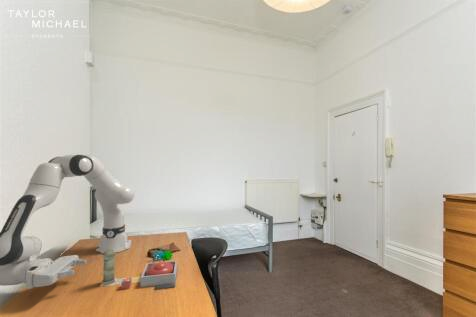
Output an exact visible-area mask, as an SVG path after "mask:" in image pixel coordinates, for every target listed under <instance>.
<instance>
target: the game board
mask: <svg viewBox="0 0 476 317" xmlns="http://www.w3.org/2000/svg"><path fill="white" fill-rule="evenodd" d="M159 262H160V261H159ZM159 262H157V261H156V262H149V263H148V262H147V263H146V265H145V268H144V269H143V271H142V274H141V276H133V277H131V276H130V277H123V278H115V282H114V283H113V284H110V285H102V283H101V284H100V285H99V287H106V286H108V287H109V286H115V285H117V286H118V285H121V290H128V289H130V288H131V287H132V284H136V283H140V287H141V288H144V287H153V286H154V288H153V290H155V291H156V290H162V289H172V288H173V289H174V288H175V287H176V283H177V275H178V266H177V265H178V260H171V261H170V260H167V262H169V263H172V264H173V273H172V274H162V275H152V276H147V268H148V267H149V266H150V265H152V264H155V263H159Z"/></svg>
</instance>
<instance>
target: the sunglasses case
mask: <svg viewBox="0 0 476 317" xmlns="http://www.w3.org/2000/svg"><path fill="white" fill-rule="evenodd" d="M156 248H157V252H158V253H160V250H161V249H160V248H162V250H161V253H162V252H163V251H164V252H166V251H170V252H171V253H172V254H174V253H177V252H180V251H181V249H180V248H179V247H178V246H177V245H176V243H174V242H171V243H168V244H164V245H161V246H158V247H156ZM156 248H150V249H148V251H147V254H146V255H147V257H149V258H151V259H152V260H153V259H154V258H155V257H154V256H151V255H157V253H156V252H155V251H156ZM154 250H155V251H154ZM155 260H157V258H156V259H155Z"/></svg>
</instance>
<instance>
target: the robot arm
mask: <svg viewBox="0 0 476 317" xmlns="http://www.w3.org/2000/svg"><path fill="white" fill-rule="evenodd" d="M82 176H83V177H84V178H85V179H86V181H87V182H88V183H89V184H90V185H91V186H92V187H93V189H95V192H94V198H95V200H96V201H97V202H98V204H99V205H100V208H101V211H102V215H103V227H102V230H101V231H102V232H101V233H102V235H100V237H99V244H98V248H96V250H95V251H96V252H99V253H100V254H104V252H105V251H107V250H109V249H111V250H114V251H115V254H116V253H120V252H123V251H126V250H130V248H131V245H132V240H131V239H128V237H129V236H128V233H127V232H126V223H125V212H124V211H123V210H122V209H121V207H120V205H124V204H129V203H131V202H132V201H133V200H134V197H135V191H134V189H133V188H131V187H129V186H127V185H125V184H123V183H122V182H121V181H120V180H118V179H117V178H116V177H114V176H113V175H112V174H111V172H110V171H109V170H108V169H107V167H106V166H105V165H104V164H103V163H102V162H101V161H100V160H99V159H98V158H97V157H95V155H92V154H86V155H84V154H67V155H64V156H56V157H53V158H51V159H50V160H49V161H48V162H44V163H41V164H39V165H38V166H37V167H36V168H35V170H34V172H33V173H32V176H31V178H30V179H29V183H28V185H27V188H26V189H25V191H24V192H23V195H22V196H21V197H20V198H18V200H17V201H16V203H14V206H13V207H12V209H11V211H10V213H9V215H8V217H7V219H6V221H5V223H4V224H3V226H2V229H1V230H0V286H1V287H2V286H3V287H4V286H5V287H6V286H16V285H21V284H25V289H26V290H30V289H33V288H40V287H47V286H51V285H54V284H55V283H56V282H57V281H58V280H60V279H62V278H65V277H69V276H74V275H75V274H76V269H74V267H75V266H77V265H79V266H84V265H85V264H87V260H86V259H80V258H79V255H77V254H74V255H72V254H71V255H65V256H64V255H63V256H60V257H58V258H56V259H54V260H52V258H50V257H46V258H39V255H40V253H41V250H42V240H40V238H38V237H36V236H30V235H29V236H23V234H24V232H25V229H26V228H27V224H28V222H29V221H30V219H31V216H32V215H33V214H34V213H35V212H36V211H38V210H40V209H42V208H45V207H49V206H50V205H51V204H54V202H55V201H56V199H57V197H58V195H59V192H60V191H61V190H60V189H61V186H62V183H63V182H62V181H63V180H64V178H74V177H82Z"/></svg>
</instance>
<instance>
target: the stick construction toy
mask: <svg viewBox="0 0 476 317" xmlns="http://www.w3.org/2000/svg"><path fill="white" fill-rule="evenodd" d="M157 248H158V247H156V251H155V250H154V251H155V252H156V253H157V255H151V256H154V257H155V258H154V259H153V258H152V260H153V261H155V260H156V262H157V261H158V260H159V259H160V262H165V261H168V260H171V259H172V257H173V253H171V252H170V251H166V252H164V251H163V252H162V253H161V250H162V248H160V249H161V250H160V253H158V252H157ZM156 258H157V259H156Z"/></svg>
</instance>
